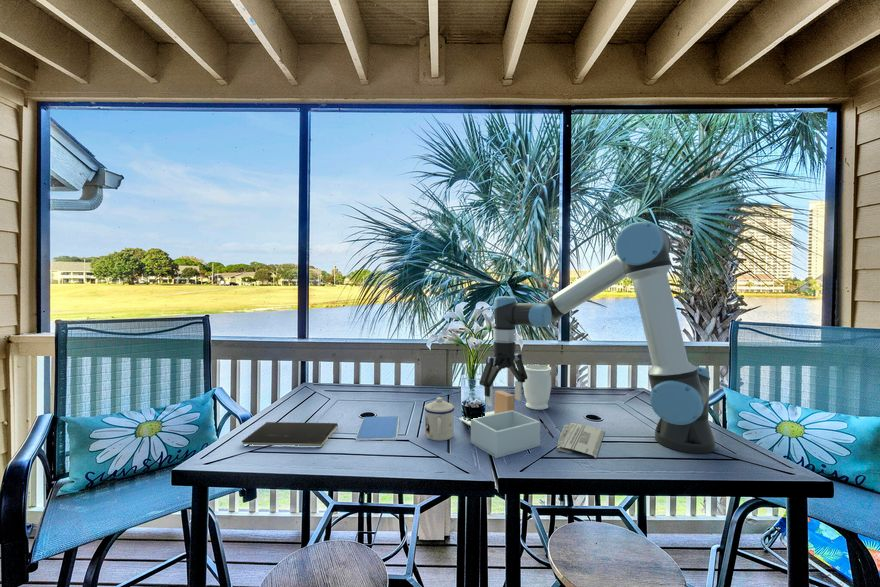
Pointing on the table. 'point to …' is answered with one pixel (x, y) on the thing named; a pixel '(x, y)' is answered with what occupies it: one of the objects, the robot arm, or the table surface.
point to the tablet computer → (378, 428)
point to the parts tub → (505, 433)
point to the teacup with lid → (439, 420)
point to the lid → (499, 404)
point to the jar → (537, 386)
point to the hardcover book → (291, 434)
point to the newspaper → (580, 439)
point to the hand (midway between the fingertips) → (503, 402)
